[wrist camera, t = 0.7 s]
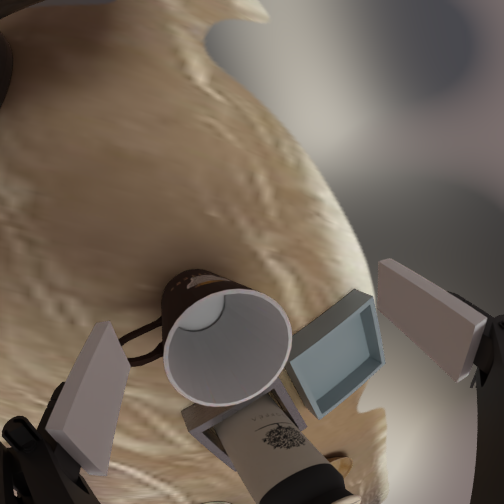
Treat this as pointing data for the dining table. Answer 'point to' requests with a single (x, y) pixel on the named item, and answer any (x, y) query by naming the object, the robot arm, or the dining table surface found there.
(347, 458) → the plant saucer
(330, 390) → the tray
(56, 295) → the dining table surface
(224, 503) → the coffee can
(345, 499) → the travel mug
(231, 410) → the socket collar
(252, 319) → the coffee mug
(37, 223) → the dining table surface
